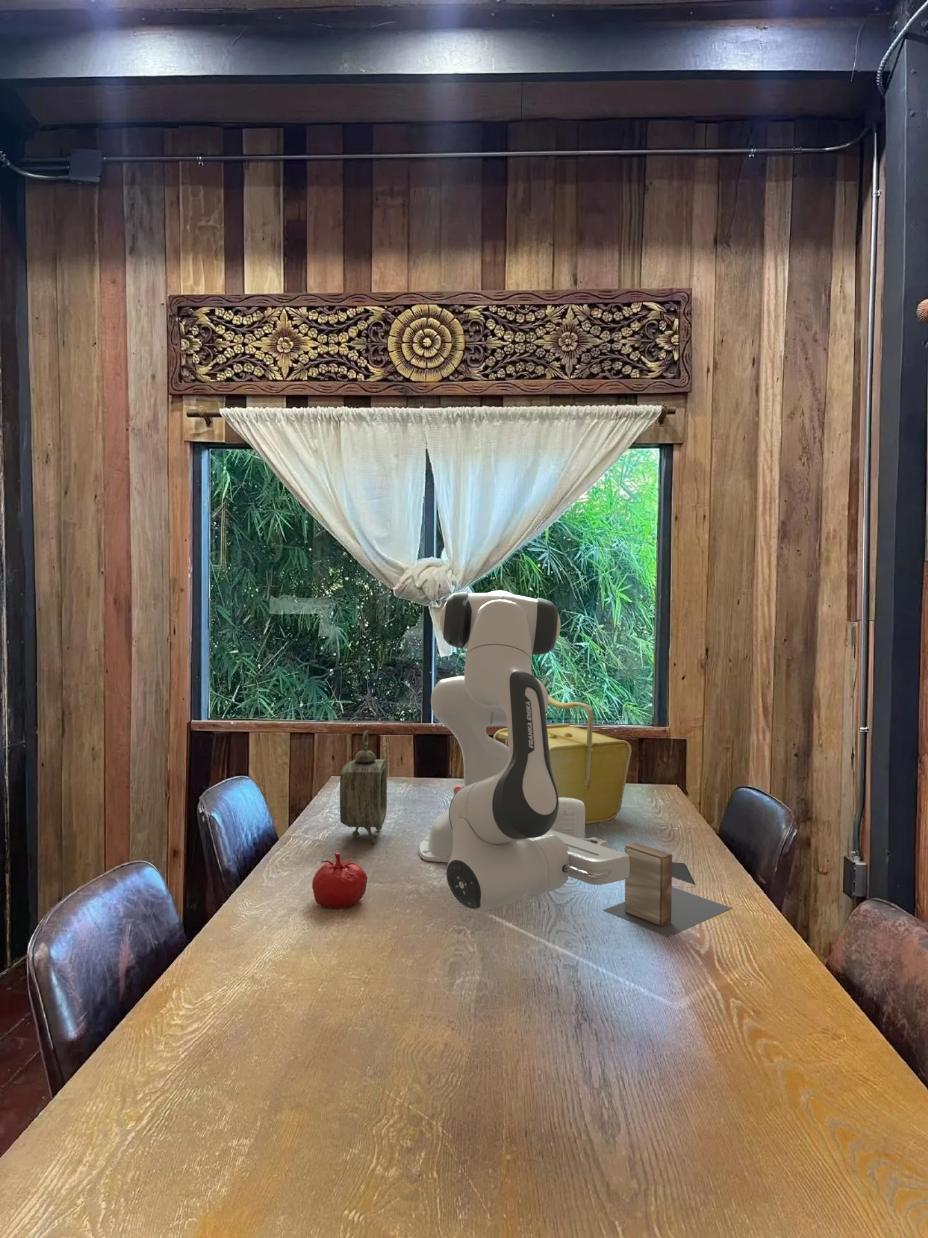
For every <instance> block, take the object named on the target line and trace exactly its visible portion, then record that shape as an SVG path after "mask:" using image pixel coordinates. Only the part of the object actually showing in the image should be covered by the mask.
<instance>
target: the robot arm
mask: <svg viewBox="0 0 928 1238" xmlns="http://www.w3.org/2000/svg"><path fill="white" fill-rule="evenodd" d="M439 617H440V618H439V627H440V631H441V634H442V637H443V640H444V641H445V642H446V643H447V645H450V646H452V647H453V648H457V649H462V650H463V649H466V653H465V661H464V670H463V671H464V674H463V675H458V676H451V677H448V678H447V677H446V678H443V679H440V680H438V681H437V683H436V684H435V685H434V687H433V689H432V692H431V696H430V705H431V710H432V713H433V715H434V716H435V718H436V719H437V720H438V721H439V722H440V723H441V724H442V725H444V726H445V727H446V728H447V729H448V730H449V731H451V733H452V735H454V737H455V738H456V740H457V742H458V745H459V747H460V751H461V755H462V759H463V760H462V761H463V777H464V779H463V780H464V783H463V784H464V786H461V785H460V784H456V785H454V787H453V794H454V795H453V796H452V799H451V800H450V801H451V802H450V805H449V808H448V809H447V810H445V811H444V812H442V813H441V814H440V815H438V816H437V817H436V818H435V819H434V820H433V822H432V824H431V827H430V830H429V836H428V837H427V838H424V839H423V840H422V841H421V842H420V844H419V850H418V851H419V852H418V854H419V857H420V858H422V859H423V860H424V861H429V862H437V863H438V862H440V863H447V865H446V872H445V873H446V880H447V881H446V882H447V885H448V887H449V889H450V892H451V893H452V894H451V895H453V897H454V898H455V899H456V900H457V901H458V902H459V903H460V904H461V905H462V906H464V907H466V908H467V909H471V910H474V911H487V910H492V909H497V908H498V909H499V908H502V907H504V906H509V905H513V904H515V903H518V902H519V901H521V900H522V899H524V898H525V897H536V896H540V895H542V894H545V893H549V892H553V891H555V890H558V889H561V888H562V887H563V886H564V885H566V883H567V881H568V879H569V878H573V879H575V880H577V881H581V882H583V883H586V884H588V885H593V886H594V885H595V886H599V885H600V886H601V885H607V884H611V883H616V882H620V881H625V879H627V878H628V876H629V871H630V862H629V856H628V854H626V853H625V852H624V851H619V850H617V849H614V848H611V847H610V844H609V841H608V840H605V839H601V838H597V837H594V836H593V837H589V838H586V837H585V838H576V837H573V836H570V835H566V834H563V833H560V832H557V831H554V830H551V828H552V826H553V824H554V823H555V820H556V817H557V814H558V808H559V798H558V792H557V788H556V785H555V781H554V778H553V774H552V769H551V763H550V754H549V743H548V733H547V725H548V723H547V715H546V713H547V710H548V707H549V703H548V696H549V695H548V694H549V693H548V691H547V688H546V687H545V685H544V684H543V682H542V681H541V680H539V679H538V678H537V677H535V676H533V673H532V672H533V671H532V660H533V658H532V657H533V656H537V655H546V654H549V652H551V651H552V650H553V649H554V647H555V645H556V643H557V641H558V639H559V637H560V635H561V634H560V632H561V630H562V629H561V627H562V625H561V619H560V618H561V617H560V614H559V612H558V607H557V606H556V605H555V604H554V603H553V602H552V601H550V600H548V599H545V598H542V597H537V598H533V597H530V596H529V597H528V596H524V595H520V594H514V593H512V592H509V591H506V590H499V589H498V590H493V591H489V592H473V593H469V591H461V592H460V591H459V592H455V593H452V594H451V595H450V596H448V598H446V602H445V603H444V604H443V607H442V609H441V612H440V616H439ZM492 726H494V727H497V726H503V727H505V726H506V728H507V732H508V747H507V746H506V745H504V744H503V743H501V742H499V741H497V740H495V739H493V737H491V736H489V734H488V733H487V728H488V727H492Z"/></svg>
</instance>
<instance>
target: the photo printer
mask: <svg viewBox="0 0 928 1238" xmlns="http://www.w3.org/2000/svg"><path fill="white" fill-rule="evenodd" d="M551 830H554V831H557V832H560V833H563V834H566V835H570V836H573V837H576V838H586V834H585V833H586V824H585V806H584V803H583V802H582V801H580V800H577V799H573V798H559V808H558V814H557V817H556V820H555V823H554V824H553V826H552V828H551Z"/></svg>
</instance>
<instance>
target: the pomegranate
mask: <svg viewBox="0 0 928 1238" xmlns="http://www.w3.org/2000/svg"><path fill="white" fill-rule="evenodd" d="M334 857H335V862H333V861H331V859H326V860H321V862H322V863H326V864H323V865H322V866H321V867H320V868H319V869H318V870H317V871H316V872H315V874H314V876H313V879H312V883H311V884H312V892H313V897H314V900H315V902H316V903H317V905H318V906H321V907H322V908H328V909H329V908H330V909H340V908H341V909H347V908H350V907H352V906H354V905H356V904H358V903H359V902H360V901H361V900H362V899H363V897H364V895H365V894H366V890H367V883H368V875H367V873H366V871H365V870H364V869H363V868H362V867H361V866H360V865H359V864H356V863H355V862H349V861H350V860H356V859H357V858H356V857H354V858H353V857H351V858H348V859H345V860H344V861H343V862H342V861H341V853H339V852H334Z"/></svg>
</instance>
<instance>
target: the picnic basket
mask: <svg viewBox="0 0 928 1238" xmlns="http://www.w3.org/2000/svg"><path fill="white" fill-rule="evenodd" d="M548 705H551V706H552V707H555V708H558V709H563V710H571V709H574V708H575V707H580V708H584V709H585V710H586V712H587V727H586V729H583V728H580V727H576V726H574V725H570V724H568V723H556V724H555V723H553V724H547V733H548V743H549V754H550V763H551V769H552V774H553V778H554V781H555V785H556V788H557V792H558V798H573V799H577V800H580V801H582V802H583V803H584V806H585V825H590V824H598V823H604V822H608V821H612V820H613V819H614V818H616V817H617V816H618V814H620V810H621V808H622V805H623V804H622V802H623V798H624V793H625V792H624V791H625V787H626V781H627V778H628V771H629V766H630V761H631V755H632V746H631V744H630V742H628V741H626V740H623V739H618V738H614V737H611V736H608V735H604V734H601V733H597V732H593V730H594V729H593V727H594V713H593V709H592V708H591V706H590V705H589V704H587V703H584V702H580V701H579V702H578V701H571V702H569V701H568V702H561V701H558V700H556V699H555V698H553V697H551V696H550V695H548ZM492 739H495V740H497V741H499V742H501V743H503V744H504V745H506V746H507V747H508V732H507V727H505V728H501V729H498V730H497V731H496V732H495V733H494V734H493V737H492Z"/></svg>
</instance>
